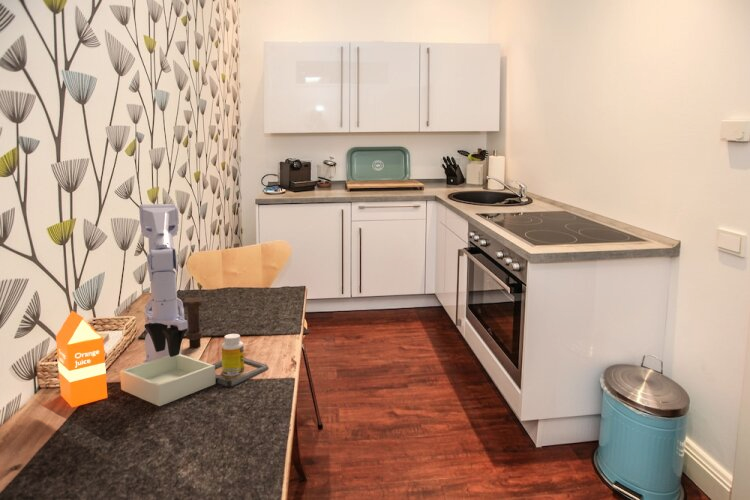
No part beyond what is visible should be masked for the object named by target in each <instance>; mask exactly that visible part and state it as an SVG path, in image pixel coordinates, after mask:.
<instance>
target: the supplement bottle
mask: <svg viewBox="0 0 750 500" xmlns="http://www.w3.org/2000/svg"><path fill="white" fill-rule="evenodd" d="M223 338H224V342H223V343H222V344H221V346H220V347H221V361H222V366H221V369H222V375H223V376H227V377H234V376H235V377H236V376H240V375H242V373H243V374H244V372H245V363H244V358H245V355H244V354H245V353H244V351H245V350H244V343H243V341H241V335H240V334H239V333H229V334H226V335H224V337H223Z"/></svg>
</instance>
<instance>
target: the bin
mask: <svg viewBox="0 0 750 500" xmlns="http://www.w3.org/2000/svg"><path fill="white" fill-rule="evenodd" d="M212 364H213V363H208V362H205V361H204V360H203V361H202V360H199V359H196V358H193V357H190V356H188V355H184V354H182V353H181V354H179V355H176V356H173V357H170V355H168V356H165V357H162V358H159V359H156V360H152V361H149V362H146V363H143V362H142V363H140V364H137V365H134V366H131V367H128V368H124V369H121V370H120V371H119V377H120V378H119V379H120V389H121V391H123V392H126V393H128V394H130V395H132V396H135V397H137V398H139V399H141V400H144V401H146V402H148V403H151V404H153V405H156V406H158V407H161V406H163V405H166V404H168V403H171V402H175V401H176V400H179V399H181V398H184V397H186V396H188V395H191V394H194V393H196V392H198V391H201V390H204V389H207V388H209V387H211V386H214V385H216V384H217V383H216V381H215V374H216V369H215V365H212Z"/></svg>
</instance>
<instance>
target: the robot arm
mask: <svg viewBox="0 0 750 500" xmlns="http://www.w3.org/2000/svg"><path fill="white" fill-rule="evenodd" d="M138 207H139V212H138V213H139V224H140V227H141V228H140V229H141V231H140V232H141V233H142V237H144V238H147V239H148V252H147V253H146V261H147V271H148V276H149V282H150V298H151V299H150V300H149V301H147V302H146V303H145V307H144V308H145V309H144V312H143V313H144V320H145V324H144V329H145V331H146V332H147V333H146V335H145V339H144V348H145V349H144V350H145V360H143V361H142V364H143V363H146V362H149V361H152V360H156V359H159V358H162V357H165V356H168V355H170V357H173V356H176V355H179V354H182V349H181V348H182V342H183V339H184V337H185V336H186V333H187V331H188V329H189V326H188V320H186V319H185V309H184V307H183V301H182V300H181V299H180V298H179V297H178V291H177V290H178V289H177V288H178V287H177V272H178V253H177V250H176V247H175V246H174V244H175V243H174V237H175V236H177V235H178V232H179V222H180V221H179V206H178V205H177V203H163V204H162V203H159V204H157V203H155V204H154V203H153V204H152V203H151V204H149V203H147V204H146V203H145V204H143V203H141V204H140V205H139V206H138Z"/></svg>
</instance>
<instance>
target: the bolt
mask: <svg viewBox="0 0 750 500" xmlns="http://www.w3.org/2000/svg"><path fill="white" fill-rule="evenodd" d="M182 303H183V308H184V307H185V308H186V307H187V308H186V309H187V318H188V320H187V322H188V330H187V331H186V333H185V339H187V340H189V341H188V342H189V349H199V348H201V343H202V342H201V339H202V338H203V335H204V331H203V330H202V329H201V326H200V325H201V323H200V321H201V320H200V307H202V306H203V304H204V300H203V299H202V298H200V297H191V298H186V299H184V300H183V301H182Z"/></svg>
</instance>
